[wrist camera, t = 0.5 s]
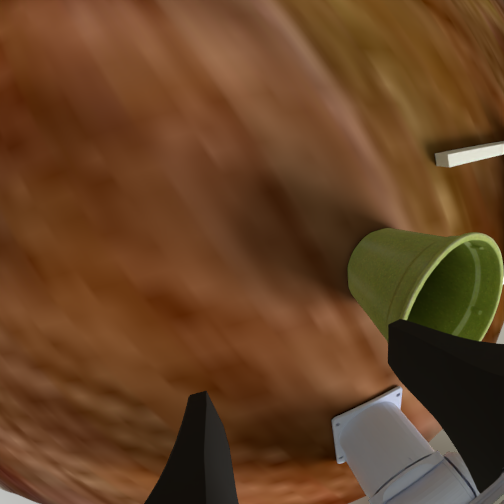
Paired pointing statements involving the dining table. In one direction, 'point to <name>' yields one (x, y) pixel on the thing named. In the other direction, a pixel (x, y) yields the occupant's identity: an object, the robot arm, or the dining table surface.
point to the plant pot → (428, 280)
